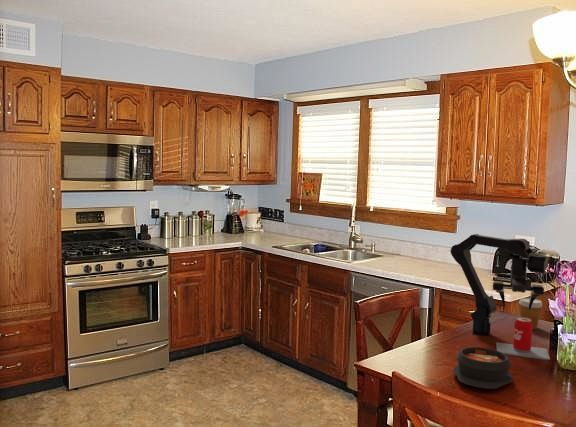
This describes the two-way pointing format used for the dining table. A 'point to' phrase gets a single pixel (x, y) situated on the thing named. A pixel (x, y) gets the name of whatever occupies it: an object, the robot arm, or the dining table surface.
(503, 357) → the casserole
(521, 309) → the disposable coffee cup
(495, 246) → the robot arm
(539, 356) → the slate mat
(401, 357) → the dining table surface
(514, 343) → the beverage can
